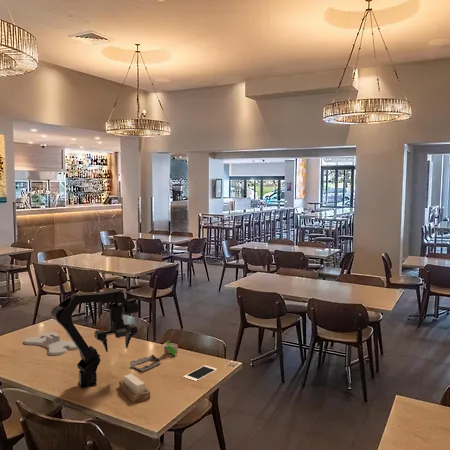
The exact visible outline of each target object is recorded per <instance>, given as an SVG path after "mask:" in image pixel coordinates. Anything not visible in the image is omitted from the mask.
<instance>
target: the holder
mask: <svg viewBox="0 0 450 450" xmlns="http://www.w3.org/2000/svg"><path fill="white" fill-rule="evenodd" d="M23 343H24V345H26V344H27V346H41V347H44V348H45V349H46V348H47V349H48V353H47V354H48V355H49V356H53V357H54V356H61V355H64V354H66V353H67V352H68V351H67V349H68V350H69V351H75V349H76V350H78V348H77V347H76V345H75V344H74V342H73V341H72V340H70V341H69V340H63V339H62V338H61V337H60V336H59V334H58V333H57V332H54V331H53V332H52V331H51V332H46V333H42V335H40V337H39V336H30V337H27V338H26V339H24V340H23Z"/></svg>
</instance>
